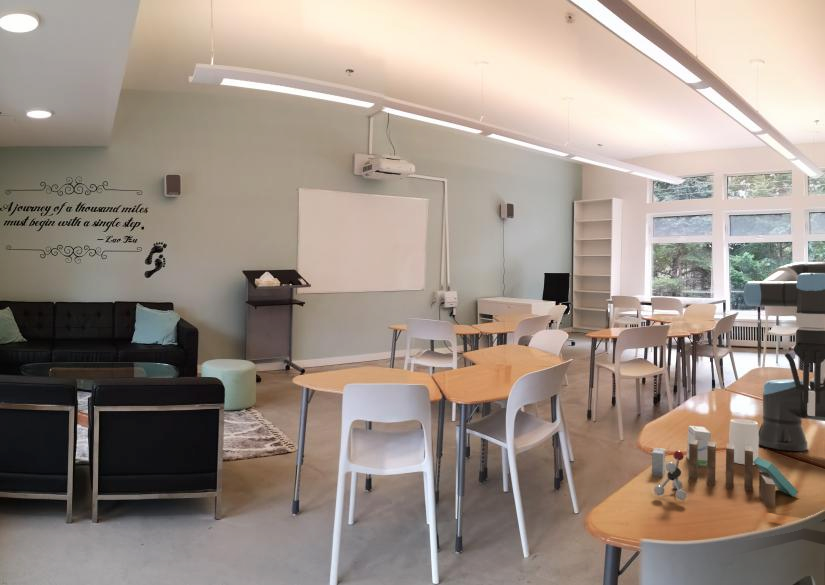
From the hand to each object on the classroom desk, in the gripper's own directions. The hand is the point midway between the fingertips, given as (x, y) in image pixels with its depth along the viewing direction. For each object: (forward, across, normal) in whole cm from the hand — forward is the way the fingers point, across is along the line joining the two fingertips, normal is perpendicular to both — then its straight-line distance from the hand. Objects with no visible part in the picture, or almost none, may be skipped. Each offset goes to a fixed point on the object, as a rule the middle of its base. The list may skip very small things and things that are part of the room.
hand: (811, 415), depth 161 cm
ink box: (+23, +28, -17) cm, 40 cm away
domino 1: (+22, +29, 0) cm, 37 cm away
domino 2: (+22, +24, 0) cm, 33 cm away
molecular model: (+23, +33, +17) cm, 43 cm away
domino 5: (+20, +11, +4) cm, 23 cm away
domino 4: (+22, +15, 0) cm, 27 cm away
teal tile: (+22, +5, 0) cm, 22 cm away
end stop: (+22, +38, 0) cm, 44 cm away
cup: (+23, +16, -25) cm, 37 cm away
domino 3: (+22, +19, 0) cm, 30 cm away
